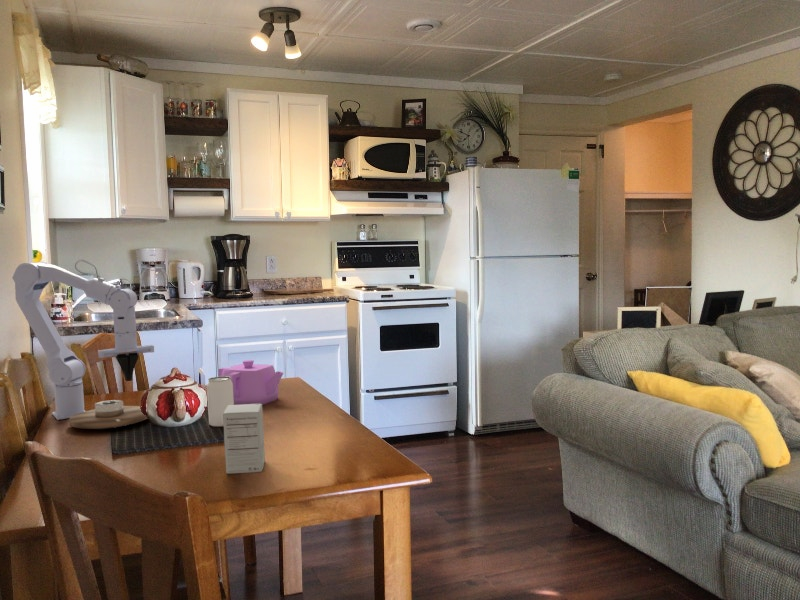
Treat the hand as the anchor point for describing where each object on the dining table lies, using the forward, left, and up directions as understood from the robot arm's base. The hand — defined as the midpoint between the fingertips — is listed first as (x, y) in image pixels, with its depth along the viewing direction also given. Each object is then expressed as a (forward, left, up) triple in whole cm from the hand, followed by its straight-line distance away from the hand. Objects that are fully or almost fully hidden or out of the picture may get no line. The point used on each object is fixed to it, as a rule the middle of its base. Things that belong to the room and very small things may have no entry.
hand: (128, 380), depth 199 cm
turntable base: (+9, -7, -9) cm, 15 cm away
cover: (+9, -7, -7) cm, 14 cm away
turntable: (+9, -7, -8) cm, 14 cm away
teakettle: (+8, +33, -10) cm, 35 cm away
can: (+29, +16, -10) cm, 34 cm away
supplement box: (+68, +7, -10) cm, 69 cm away
